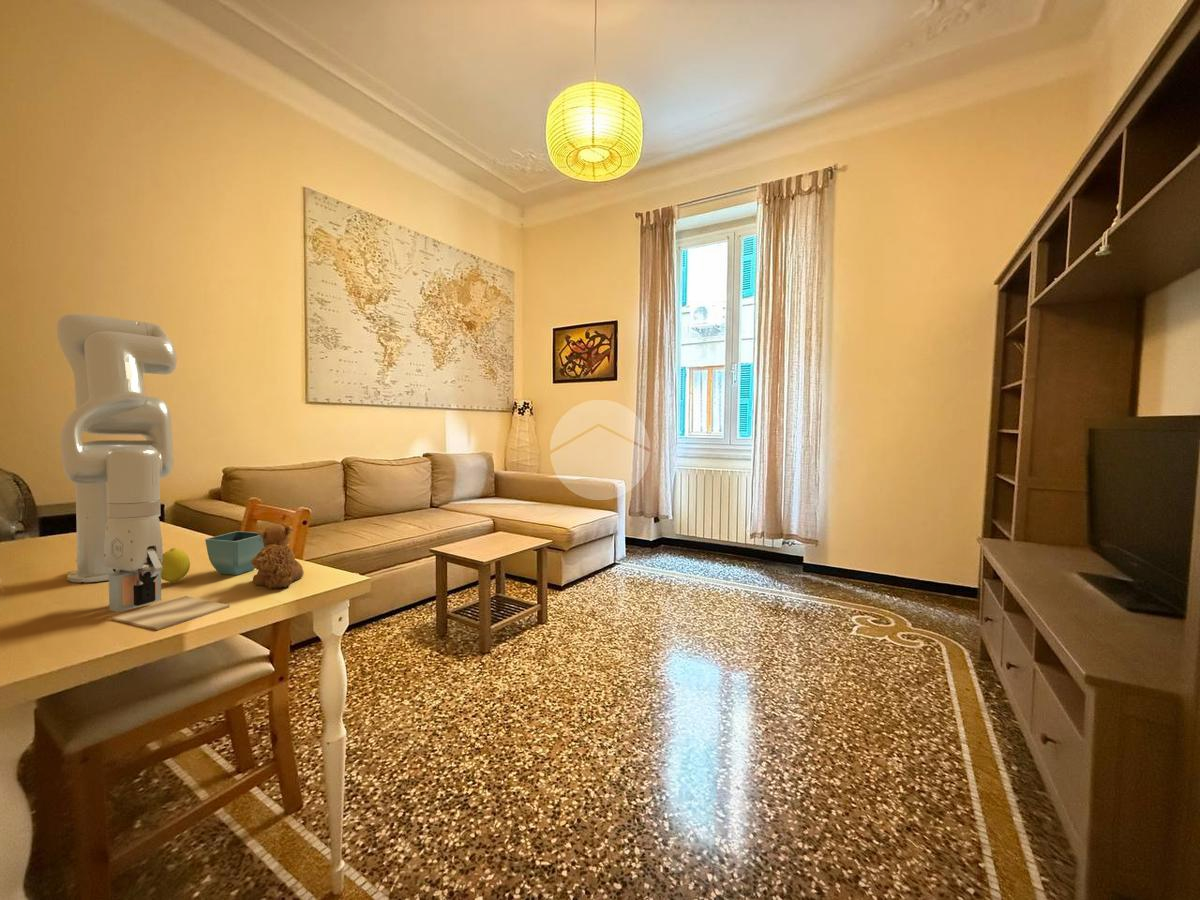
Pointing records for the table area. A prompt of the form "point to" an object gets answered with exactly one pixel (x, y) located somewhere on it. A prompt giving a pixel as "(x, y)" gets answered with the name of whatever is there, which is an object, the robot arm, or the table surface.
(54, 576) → the table surface
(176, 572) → the lemon
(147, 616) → the cork mat
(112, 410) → the robot arm
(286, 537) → the brown fuzzy figure
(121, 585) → the tile
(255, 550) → the flower pot
